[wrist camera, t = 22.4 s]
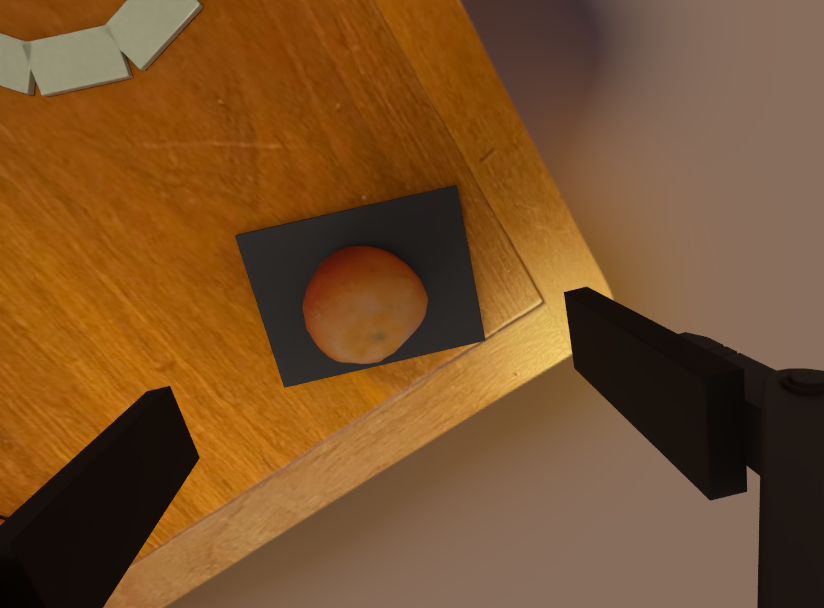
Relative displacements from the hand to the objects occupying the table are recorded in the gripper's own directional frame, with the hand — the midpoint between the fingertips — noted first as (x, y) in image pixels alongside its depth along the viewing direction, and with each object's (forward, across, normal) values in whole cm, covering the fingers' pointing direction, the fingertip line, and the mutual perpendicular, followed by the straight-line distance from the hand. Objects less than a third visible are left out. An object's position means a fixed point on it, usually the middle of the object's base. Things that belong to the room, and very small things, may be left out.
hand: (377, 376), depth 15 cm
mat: (+20, -1, -2) cm, 20 cm away
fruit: (+19, -1, -2) cm, 19 cm away
